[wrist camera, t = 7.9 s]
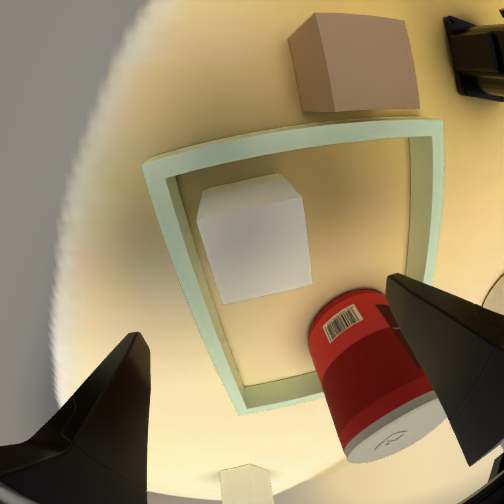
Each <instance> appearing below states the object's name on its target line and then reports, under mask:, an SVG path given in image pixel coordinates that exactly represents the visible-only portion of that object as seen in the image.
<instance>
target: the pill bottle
mask: <svg viewBox="0 0 504 504" xmlns="http://www.w3.org/2000/svg"><path fill="white" fill-rule="evenodd" d="M483 307H484V308H486V309H489V310H491V311H494V312H497V313H500V314H502V315H504V276H503V277H501V278H500V280H499V281H498V282H497V283H496V284H495V286H494V287H493V288H492V290H491V291H490V293H489V295H488V296H487V298H486V300H485V302H484V305H483Z"/></svg>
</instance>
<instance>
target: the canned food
mask: <svg viewBox="0 0 504 504" xmlns="http://www.w3.org/2000/svg"><path fill="white" fill-rule="evenodd" d="M309 351H310V354H311V357H312V360H313V362H314V365H315V368H316V371H317V374H318V377H319V380H320V383H321V386H322V389H323V392H324V395H325V398H326V401H327V404H328V407H329V410H330V413H331V416H332V419H333V422H334V425H335V428H336V431H337V434H338V437H339V440H340V442H341V445H342V448H343V451H344V453H345V455H346V457H347V460H348V461H349V462H351V463H367V462H372V461H375V460H379V459H382V458H385V457H387V456H390V455H392V454H395V453H397V452H399V451H401V450H403V449H405V448H407V447H409V446H410V445H412V444H414V443H415V442H417V441H419V440H420V439H422V438H423V437H424V436H426V435H427V434H428V433H430V432H431V431H432V430H434V429H435V428H436V427H437V426H438V425H439V424H441V422H443V421H444V420H445V418H447V416H446V414H445V411H444V409H443V407H442V405H441V403H440V401H439V399H438V397H437V395H436V393H435V391H434V390H433V388H432V386H431V384H430V382H429V380H428V378H427V376H426V374H425V373H424V371H423V369H422V367H421V365H420V363H419V362H418V360H417V358H416V356H415V355H414V353H413V351H412V349H411V348H410V346H409V344H408V342H407V341H406V339H405V337H404V335H403V334H402V332H401V330H400V328H399V326H398V323H397V321H396V319H395V317H394V315H393V312H392V310H391V308H390V306H389V304H388V302H387V300H386V296H384V295H382V294H380V293H378V292H377V291H373V290H357V291H352V292H350V293H347V294H344V295H342V296H340V297H339V298H337V299H335V300H334V301H332V302H331V303H330V304H328V305H327V306H326V307H325V308H324V309H323V310H322V311H321V312H320V313H319V314H318V316H317V317H316V318H315V320H314V322H313V324H312V326H311V329H310V332H309Z"/></svg>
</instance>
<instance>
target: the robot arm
mask: <svg viewBox="0 0 504 504" xmlns="http://www.w3.org/2000/svg"><path fill="white" fill-rule="evenodd" d="M499 11H500V13H501V15H502V17H503V18H504V8H503V9H500V10H499ZM444 22H445V25H446V29H447V33H448V37H449V42H450V46H451V51H452V56H453V62H454V68H455V74H456V81H457V88H458V92H459V93H460V94H461V95H463V96H470V97H477V98H483V99H488V100H494V101H499V102H504V24H497V25H484V26H476V25H474V24H471V23H469V22H466V21H463V20H460V19H458V18H455V17H452V16H446V17H445V18H444ZM463 89H464V90H463ZM385 295H386V300H387V302H388V304H389V306H390V308H391V310H392V312H393V315H394V317H395V319H396V321H397V323H398V326H399V328H400V330H401V332H402V334H403V335H404V337H405V339H406V341H407V342H408V344H409V346H410V348H411V349H412V351H413V353H414V355H415V356H416V358H417V360H418V362H419V363H420V365H421V367H422V369H423V371H424V373H425V374H426V376H427V378H428V380H429V382H430V384H431V386H432V388H433V390H434V391H435V393H436V395H437V397H438V399H439V401H440V403H441V405H442V407H443V409H444V411H445V414H446V416H447V418H448V420H449V421H450V424H451V427H452V429H453V431H454V433H455V435H456V437H457V440H458V442H459V444H460V447H461V449H462V451H463V453H464V456H465V458H466V461H467V463H468V465H469V467H470V466H472V465H473V464H475V463H476V462H477V461H479V460H480V459H481V458H483V457H484V456H486V455H487V454H488V453H489V452H491V451H492V450H493V449H495V448H496V447H497V446H498V445H501V447H502V448H503V450H504V315H502V314H500V313H497V312H494V311H491V310H489V309H486V308H484V307H481V306H479V305H477V304H473V303H472V302H469V301H467V300H465V299H462V298H460V297H457V296H455V295H452V294H450V293H448V292H445V291H443V290H440V289H438V288H435V287H433V286H430V285H428V284H425V283H423V282H420V281H417V280H415V279H412V278H410V277H407V276H405V275H402V274H400V273H395V274H391V275H389V276H388V277H387V282H386V292H385ZM150 393H151V375H150V349H149V347H148V345H147V343H146V342H145V340H144V338H143V336H142V335H141V333H140V332H132V333H128V334H127V335H126V336H125V338H124V339H123V340H122V341H121V342H120V343H119V344H118V345H117V346H116V347H115V348H114V349H113V351H112V352H111V353H110V354H109V355H108V356H107V357H106V358H105V359H104V360H103V361H102V363H101V364H100V365H99V366H98V367H97V368H96V369H95V370H94V371H93V373H92V374H91V375H90V376H89V377H88V378H87V379H86V380H85V381H84V383H83V384H82V385H81V386H80V387H79V388H78V389H77V390H76V392H75V393H74V395H72V396H71V397H70V398H69V400H68V401H67V402H66V403H65V404H64V405H63V406H62V407H61V408H60V410H59V411H58V412H57V413H56V414H55V415H54V416H53V417H52V418H51V419H50V420H49V421H48V422H47V423H46V424H45V425H44V426H43V427H41V428H40V429H39V431H37V432H36V433H35V434H34V435H33V437H31V438H30V439H29V440H27V441H25V442H23V443H20V444H14V445H6V446H0V504H147V443H148V422H149V406H150ZM458 504H504V453H502V454H501V455H500V456H499V457H497V458H496V459H495V460H494V464H493V467H492V471H491V474H490V477H489V480H488V483H487V484H485V485H484V486H483V487H481V488H480V489H479V490H477V491H476V492H474V493H473V494H471V495H470V496H469V497H467V498H466V499H464V500H463V501H461V502H460V503H458Z"/></svg>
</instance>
